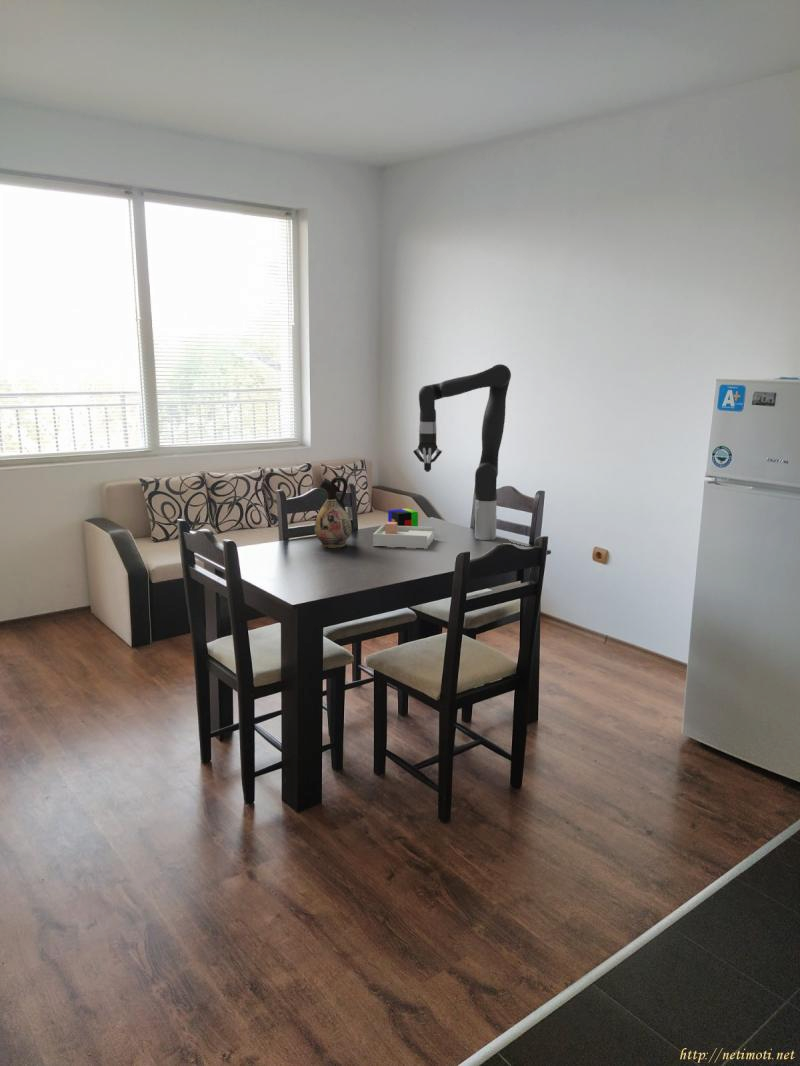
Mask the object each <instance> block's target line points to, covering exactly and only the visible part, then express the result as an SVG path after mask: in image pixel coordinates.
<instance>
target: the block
mask: <svg viewBox="0 0 800 1066" xmlns="http://www.w3.org/2000/svg"><path fill="white" fill-rule="evenodd" d="M384 525H385V534H396V533H397V522H388V521H386V522H385V523H384Z"/></svg>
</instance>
